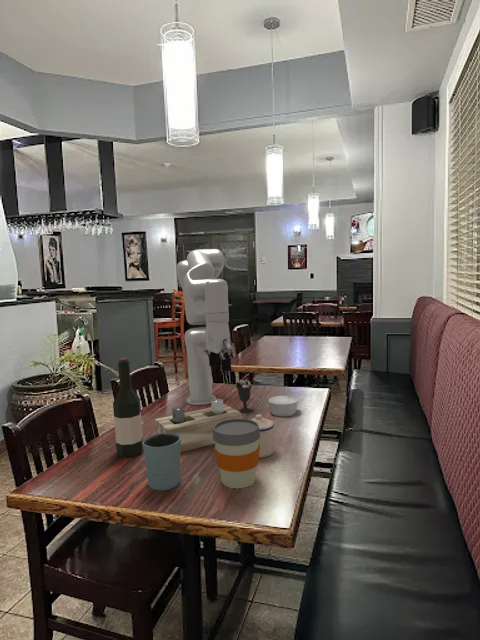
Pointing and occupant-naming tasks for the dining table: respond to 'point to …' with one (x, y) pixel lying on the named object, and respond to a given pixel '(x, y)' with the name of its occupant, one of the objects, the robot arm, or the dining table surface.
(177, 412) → the graphite peg
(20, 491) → the dining table surface
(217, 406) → the steel peg
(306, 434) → the dining table surface
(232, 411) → the birch block
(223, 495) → the dining table surface
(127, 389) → the wine bottle
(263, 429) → the teacup with lid
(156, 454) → the blue cup
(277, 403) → the ramekin
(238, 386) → the sundae
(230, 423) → the reusable coffee cup
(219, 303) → the robot arm
